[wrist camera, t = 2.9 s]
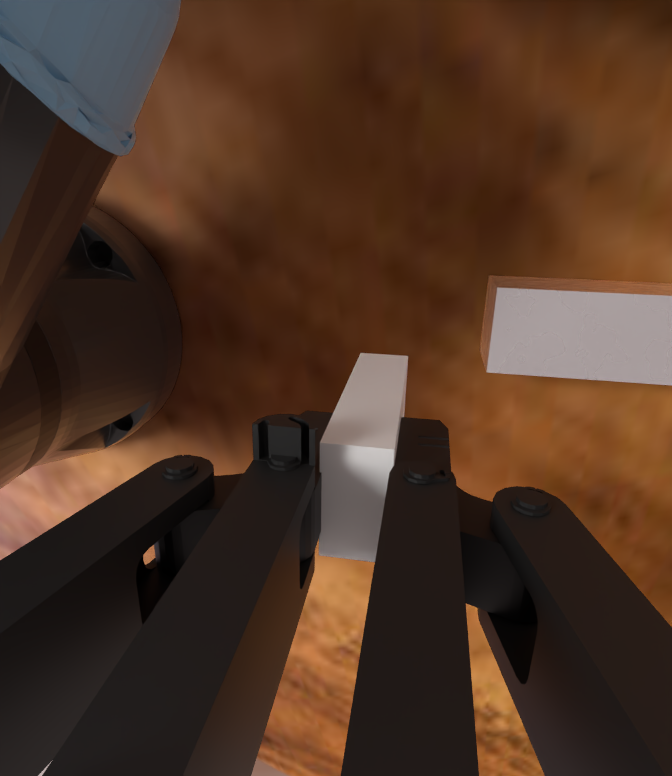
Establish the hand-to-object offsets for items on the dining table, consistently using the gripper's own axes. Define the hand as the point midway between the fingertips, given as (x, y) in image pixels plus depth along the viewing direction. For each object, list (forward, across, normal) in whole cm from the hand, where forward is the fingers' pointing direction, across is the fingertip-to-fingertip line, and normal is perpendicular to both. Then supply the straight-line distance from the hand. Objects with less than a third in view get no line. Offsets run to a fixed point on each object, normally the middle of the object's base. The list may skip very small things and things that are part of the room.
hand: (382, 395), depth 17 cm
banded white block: (+13, +12, 0) cm, 18 cm away
